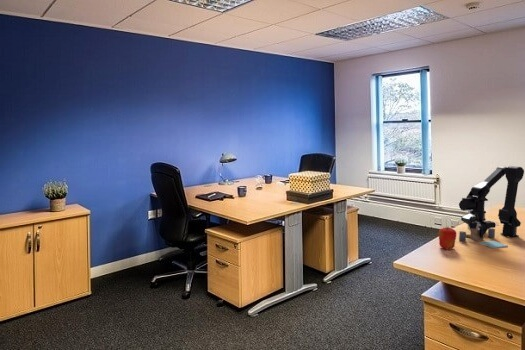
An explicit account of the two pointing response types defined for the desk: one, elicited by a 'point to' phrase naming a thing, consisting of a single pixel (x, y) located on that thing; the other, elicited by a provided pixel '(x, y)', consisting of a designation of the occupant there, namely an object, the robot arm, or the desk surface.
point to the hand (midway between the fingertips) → (477, 236)
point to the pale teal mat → (493, 244)
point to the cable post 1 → (462, 236)
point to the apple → (447, 238)
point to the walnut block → (476, 234)
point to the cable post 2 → (491, 233)
